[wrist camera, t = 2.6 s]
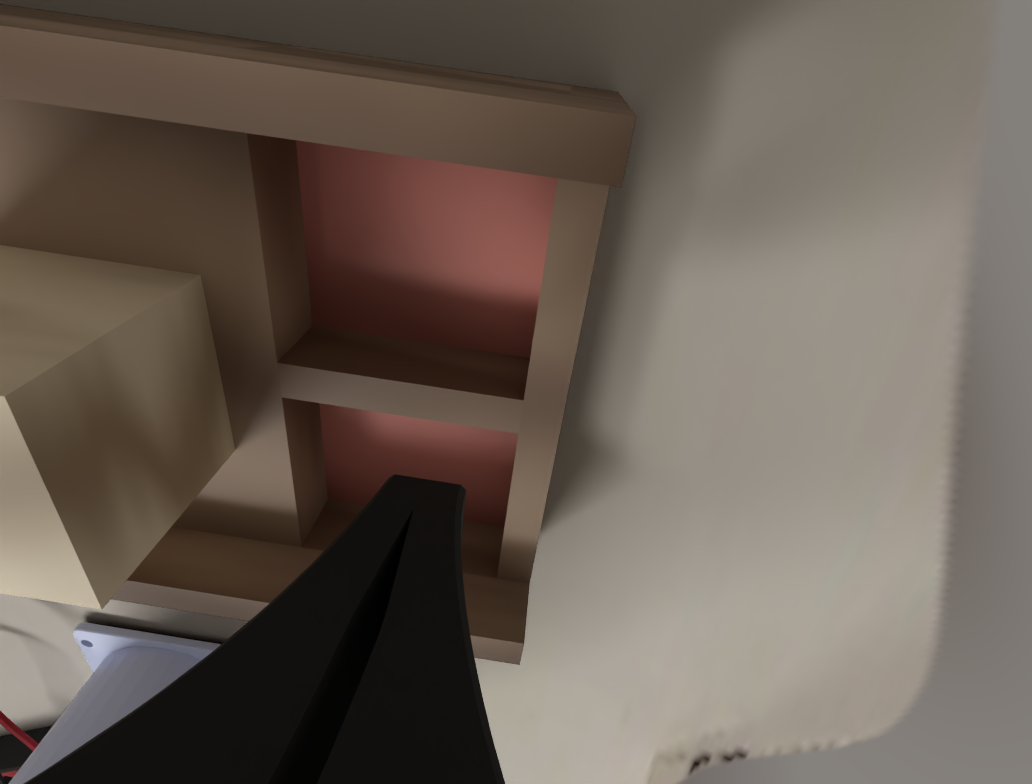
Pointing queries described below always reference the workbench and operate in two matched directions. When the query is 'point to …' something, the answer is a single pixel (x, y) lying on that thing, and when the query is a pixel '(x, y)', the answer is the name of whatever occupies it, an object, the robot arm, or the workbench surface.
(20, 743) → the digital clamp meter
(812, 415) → the workbench surface
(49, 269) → the block
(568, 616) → the workbench surface
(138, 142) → the long open wooden box
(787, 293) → the workbench surface
